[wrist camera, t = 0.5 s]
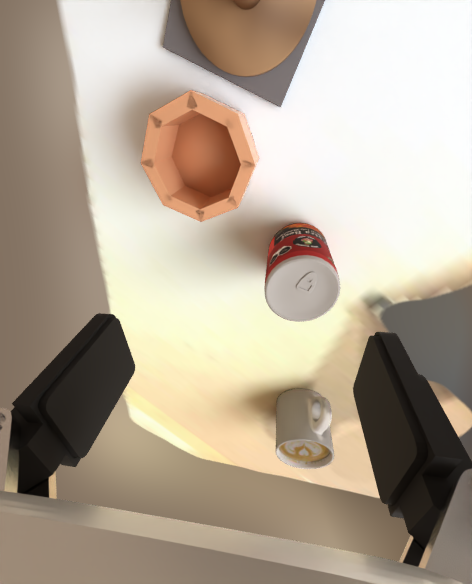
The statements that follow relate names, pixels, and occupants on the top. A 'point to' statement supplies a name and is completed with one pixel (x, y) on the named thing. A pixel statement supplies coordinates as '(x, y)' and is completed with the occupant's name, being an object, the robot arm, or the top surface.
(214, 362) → the top surface
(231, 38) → the lid
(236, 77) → the mat
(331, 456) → the coffee mug
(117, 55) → the top surface
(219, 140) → the bowl
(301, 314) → the canned food
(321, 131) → the top surface
